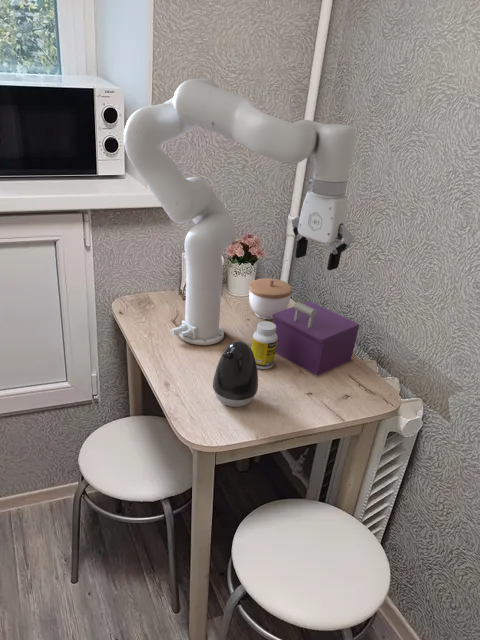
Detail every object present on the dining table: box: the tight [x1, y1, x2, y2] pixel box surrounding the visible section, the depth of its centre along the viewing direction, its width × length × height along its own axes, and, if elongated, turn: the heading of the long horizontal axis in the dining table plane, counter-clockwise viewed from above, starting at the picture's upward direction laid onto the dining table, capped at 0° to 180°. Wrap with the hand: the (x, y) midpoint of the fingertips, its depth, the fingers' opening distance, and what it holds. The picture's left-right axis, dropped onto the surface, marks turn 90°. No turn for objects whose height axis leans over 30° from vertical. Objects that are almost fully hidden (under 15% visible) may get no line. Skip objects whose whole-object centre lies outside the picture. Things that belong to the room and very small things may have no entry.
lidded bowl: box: [248, 277, 293, 320], centre depth 156 cm, size 13×13×11 cm
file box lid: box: [272, 300, 360, 342], centre depth 132 cm, size 14×17×6 cm
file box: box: [272, 318, 360, 377], centre depth 137 cm, size 14×17×10 cm
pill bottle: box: [250, 320, 278, 370], centre depth 132 cm, size 6×6×11 cm
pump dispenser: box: [212, 340, 259, 408], centre depth 116 cm, size 10×10×15 cm
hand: (315, 262), depth 124 cm, fingers open, 9 cm apart
